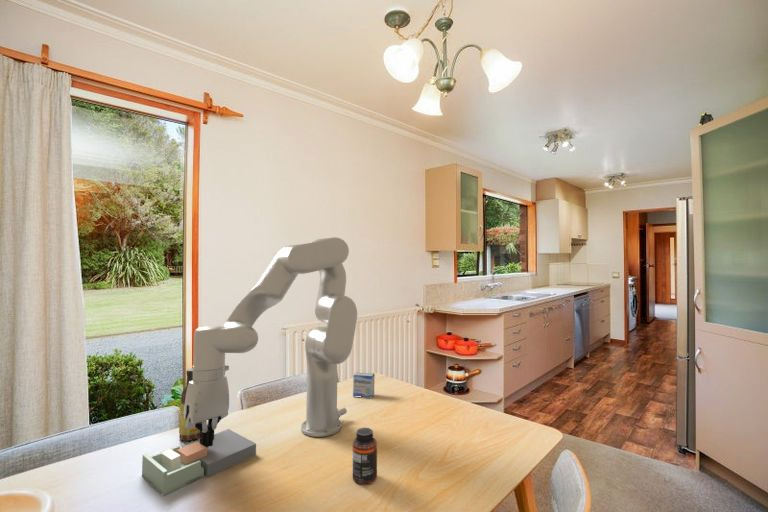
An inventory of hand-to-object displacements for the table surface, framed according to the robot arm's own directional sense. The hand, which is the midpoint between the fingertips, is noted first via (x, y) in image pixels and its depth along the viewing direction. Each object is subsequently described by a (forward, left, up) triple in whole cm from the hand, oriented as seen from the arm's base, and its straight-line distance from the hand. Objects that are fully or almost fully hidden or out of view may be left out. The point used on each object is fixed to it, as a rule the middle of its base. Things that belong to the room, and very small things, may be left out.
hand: (206, 445), depth 92 cm
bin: (+8, 0, -4) cm, 9 cm away
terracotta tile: (+4, 0, -1) cm, 4 cm away
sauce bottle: (-4, -17, -5) cm, 18 cm away
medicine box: (-62, +1, -5) cm, 62 cm away
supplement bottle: (-20, +37, -5) cm, 42 cm away
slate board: (-3, 0, -4) cm, 5 cm away
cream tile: (+8, 0, -1) cm, 8 cm away
